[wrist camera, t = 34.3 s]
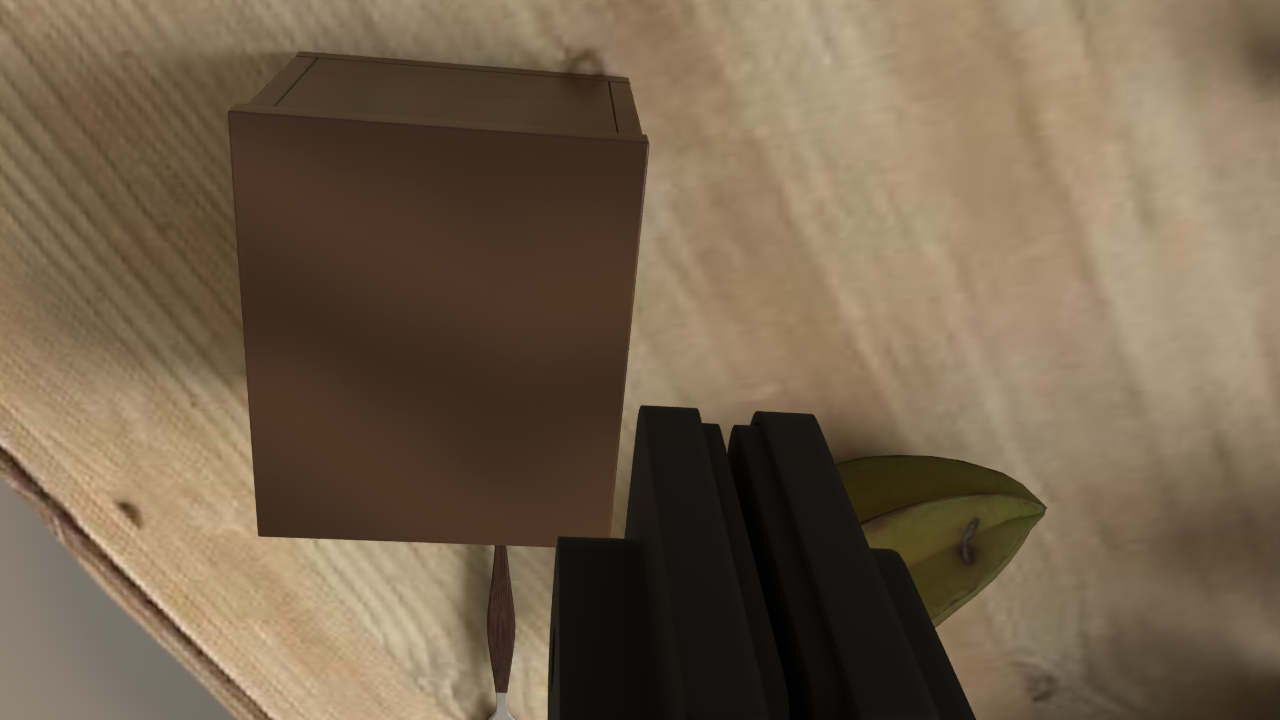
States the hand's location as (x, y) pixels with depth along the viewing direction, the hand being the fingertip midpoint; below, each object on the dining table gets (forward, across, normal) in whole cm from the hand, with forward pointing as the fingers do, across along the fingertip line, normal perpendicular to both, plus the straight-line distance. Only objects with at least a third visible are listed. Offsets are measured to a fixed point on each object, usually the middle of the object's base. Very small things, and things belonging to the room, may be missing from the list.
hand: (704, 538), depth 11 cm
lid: (+19, +4, +8) cm, 21 cm away
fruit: (+27, -11, +19) cm, 35 cm away
